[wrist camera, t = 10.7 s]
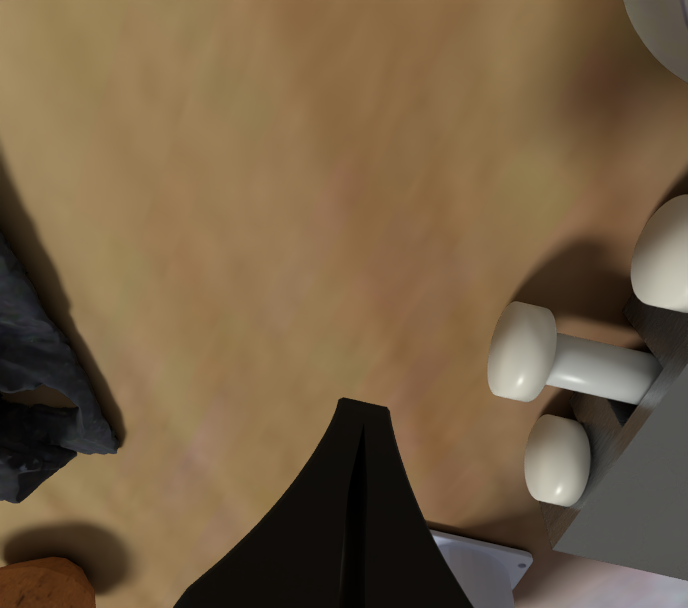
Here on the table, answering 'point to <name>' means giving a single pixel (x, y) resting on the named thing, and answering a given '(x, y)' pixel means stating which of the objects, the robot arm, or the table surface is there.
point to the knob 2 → (663, 258)
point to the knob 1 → (557, 460)
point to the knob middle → (562, 360)
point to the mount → (635, 463)
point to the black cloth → (28, 374)
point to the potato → (45, 585)
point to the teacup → (663, 31)
